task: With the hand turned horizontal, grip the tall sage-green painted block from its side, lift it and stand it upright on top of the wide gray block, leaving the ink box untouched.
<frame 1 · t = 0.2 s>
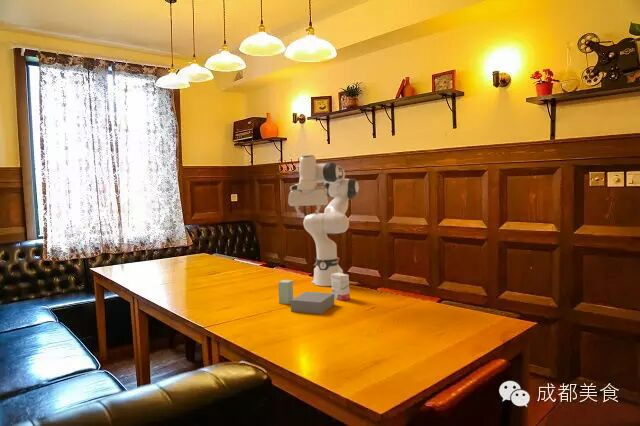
hand: (307, 214, 221), 40 cm above the table, tool pointing down, fingers open, 8 cm apart
gray block: (313, 307, 197), on the table
sage block: (286, 302, 208), on the table
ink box: (340, 299, 212), on the table
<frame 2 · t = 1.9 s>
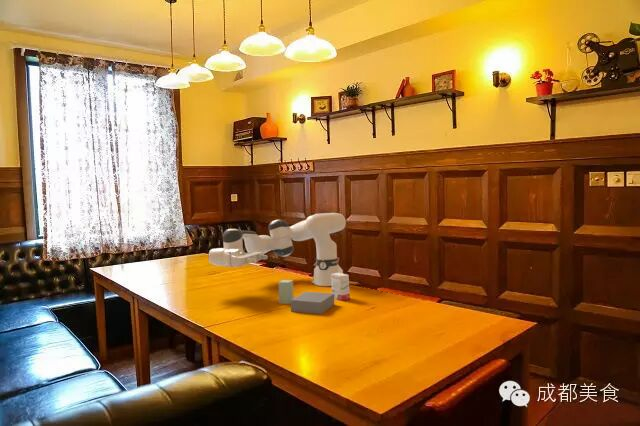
hand: (261, 258, 212), 20 cm above the table, tool horizontal, fingers open, 8 cm apart
nothing on the table moved.
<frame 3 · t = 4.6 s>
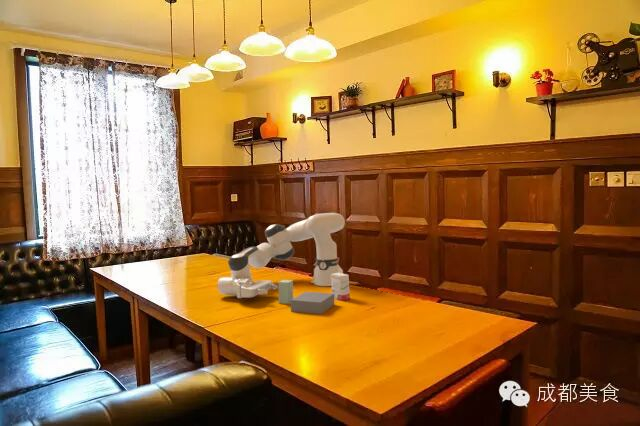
hand: (272, 289, 210), 6 cm above the table, tool horizontal, fingers open, 8 cm apart
nothing on the table moved.
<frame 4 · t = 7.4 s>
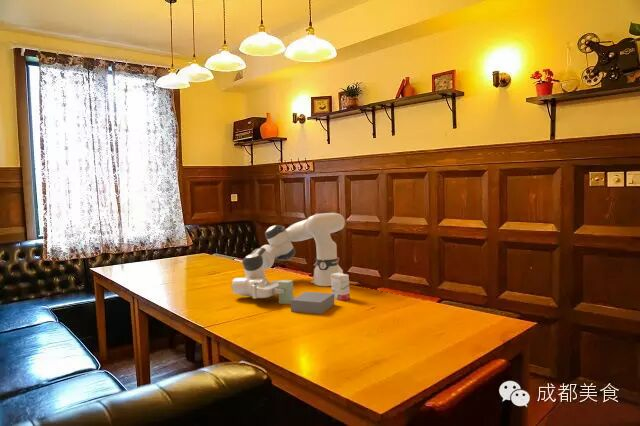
hand: (287, 289, 207), 6 cm above the table, tool horizontal, fingers closed on sage block, 5 cm apart
sage block: (286, 302, 208), on the table, touching gripper
everything else where it was.
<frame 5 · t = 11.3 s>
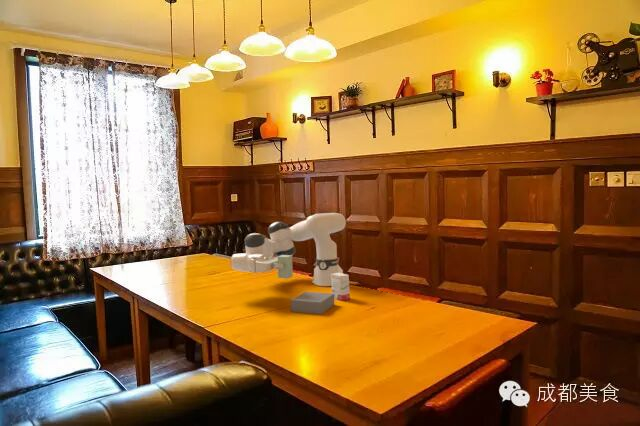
hand: (286, 264, 207), 18 cm above the table, tool horizontal, fingers closed on sage block, 5 cm apart
sage block: (285, 277, 207), point 12 cm above the table, touching gripper
everything else where it was.
when the fingers open (12 cm above the table, at t = 15.2 s): sage block drops 1 cm, resting on gray block.
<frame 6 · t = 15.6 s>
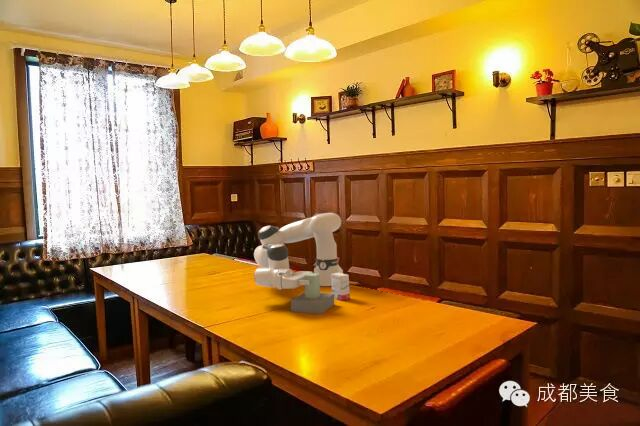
hand: (314, 280, 196), 12 cm above the table, tool horizontal, fingers open, 8 cm apart
sage block: (312, 296, 197), point 5 cm above the table, touching gray block
everything else where it was.
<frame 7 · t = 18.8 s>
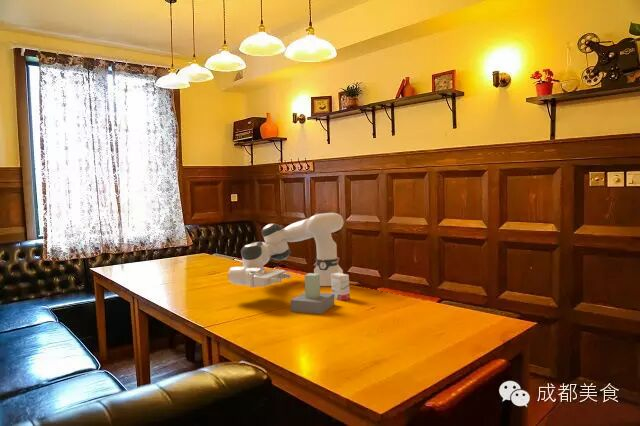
hand: (285, 278, 201), 12 cm above the table, tool horizontal, fingers open, 8 cm apart
nothing on the table moved.
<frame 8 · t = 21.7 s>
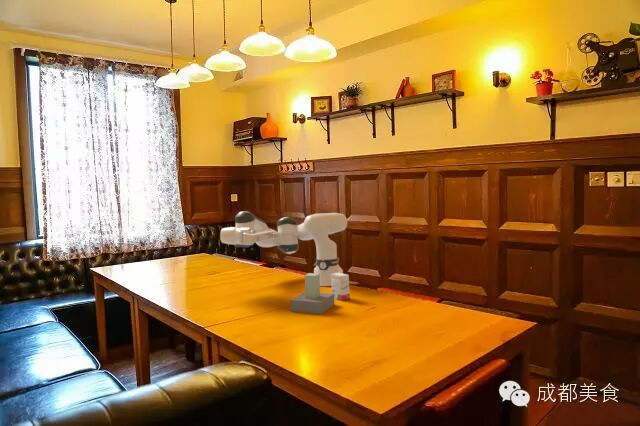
hand: (273, 236, 215), 30 cm above the table, tool horizontal, fingers open, 8 cm apart
nothing on the table moved.
at the end: sage block inside the target area on the gray block (0.1 cm from its centre), point 5.0 cm above the gray block's base; sage block tilted 0°; the gripper is holding nothing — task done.
